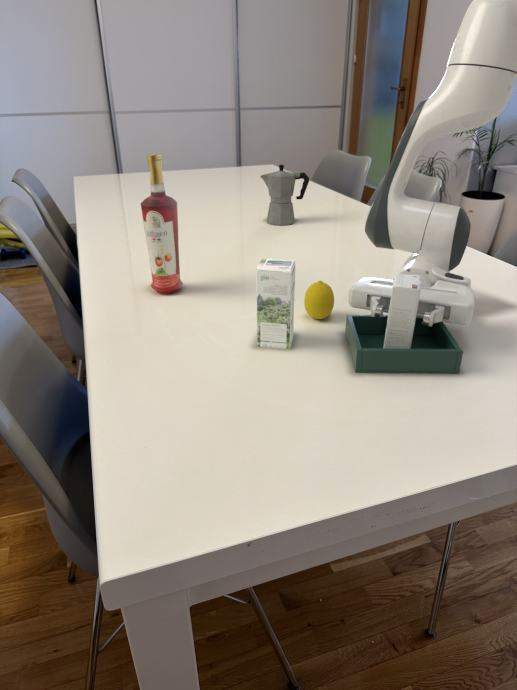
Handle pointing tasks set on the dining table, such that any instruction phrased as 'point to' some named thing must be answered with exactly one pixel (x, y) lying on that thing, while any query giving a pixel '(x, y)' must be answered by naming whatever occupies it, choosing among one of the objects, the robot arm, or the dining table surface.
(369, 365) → the bin
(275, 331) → the syrup box
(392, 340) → the cosmetic box
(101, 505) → the dining table surface
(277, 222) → the coffeepot
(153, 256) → the liquor
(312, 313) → the lemon
